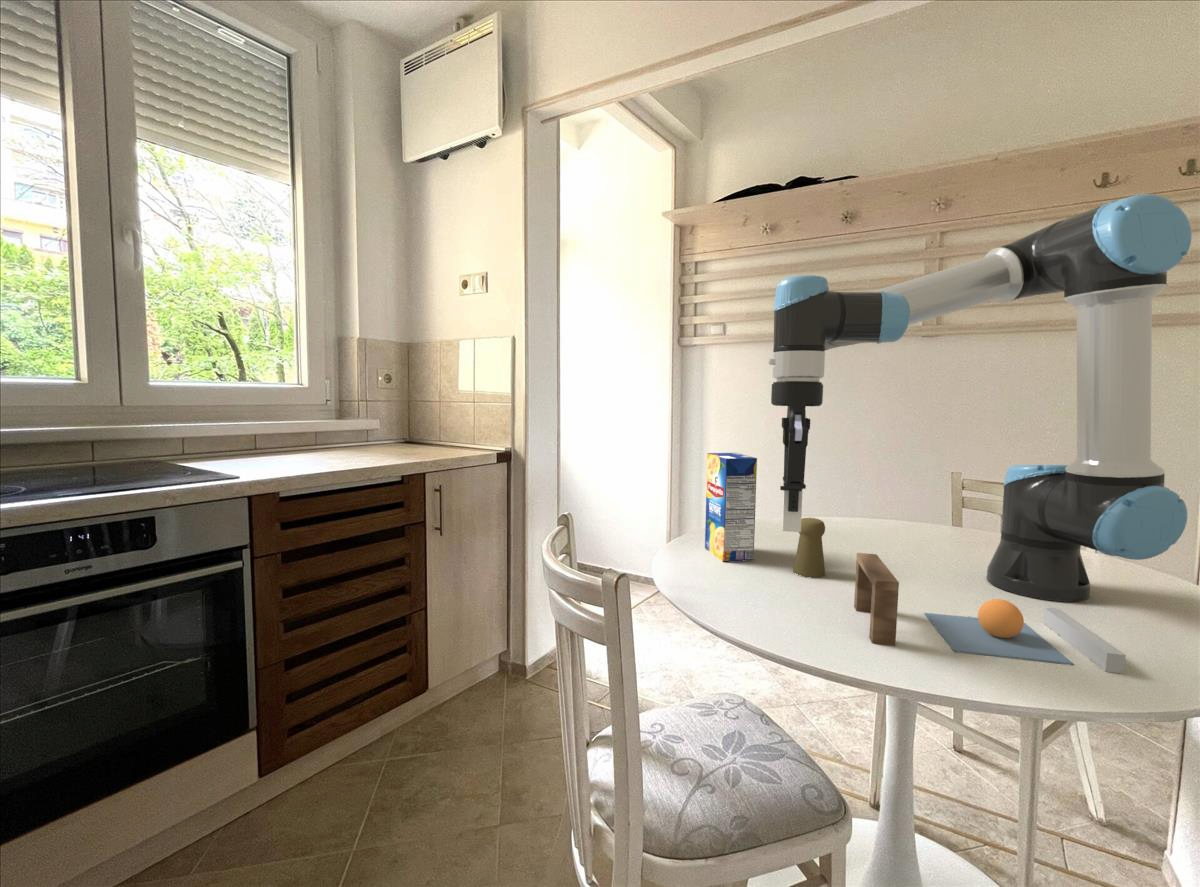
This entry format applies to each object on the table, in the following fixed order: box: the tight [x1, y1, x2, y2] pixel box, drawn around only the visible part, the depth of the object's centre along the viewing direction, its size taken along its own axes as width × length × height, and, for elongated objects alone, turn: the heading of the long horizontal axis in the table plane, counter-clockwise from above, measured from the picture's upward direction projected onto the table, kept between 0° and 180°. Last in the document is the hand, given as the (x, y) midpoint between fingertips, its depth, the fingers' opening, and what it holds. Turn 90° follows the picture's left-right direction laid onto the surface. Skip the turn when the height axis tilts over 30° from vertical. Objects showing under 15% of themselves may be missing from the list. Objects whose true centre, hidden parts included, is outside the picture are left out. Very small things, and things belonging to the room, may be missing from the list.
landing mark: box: [923, 612, 1075, 666], centre depth 83 cm, size 14×14×1 cm
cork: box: [792, 517, 826, 579], centre depth 111 cm, size 6×6×11 cm
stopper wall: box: [1042, 607, 1127, 674], centre depth 80 cm, size 2×16×2 cm, turn 165°
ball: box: [977, 598, 1025, 638], centre depth 83 cm, size 6×6×6 cm
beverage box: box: [704, 452, 758, 562], centre depth 124 cm, size 7×11×22 cm, turn 10°
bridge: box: [853, 552, 900, 647], centre depth 87 cm, size 3×14×9 cm, turn 165°
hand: (791, 530), depth 89 cm, fingers closed
